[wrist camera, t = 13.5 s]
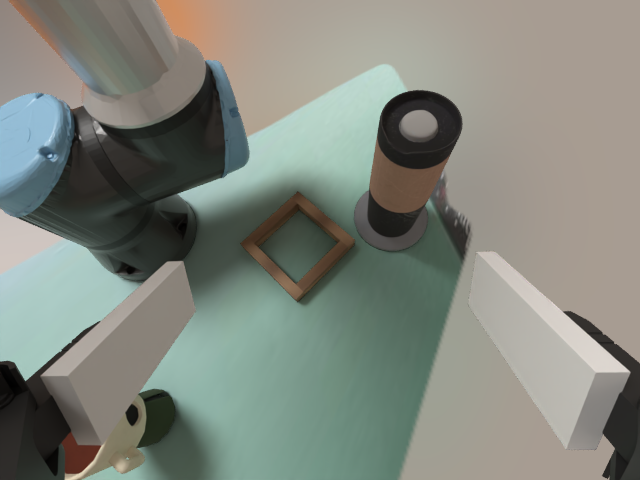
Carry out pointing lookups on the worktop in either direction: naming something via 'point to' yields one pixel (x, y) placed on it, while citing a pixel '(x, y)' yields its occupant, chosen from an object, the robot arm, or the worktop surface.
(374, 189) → the travel mug
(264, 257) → the walnut frame
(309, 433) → the worktop surface
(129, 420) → the character mug
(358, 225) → the slate coaster
